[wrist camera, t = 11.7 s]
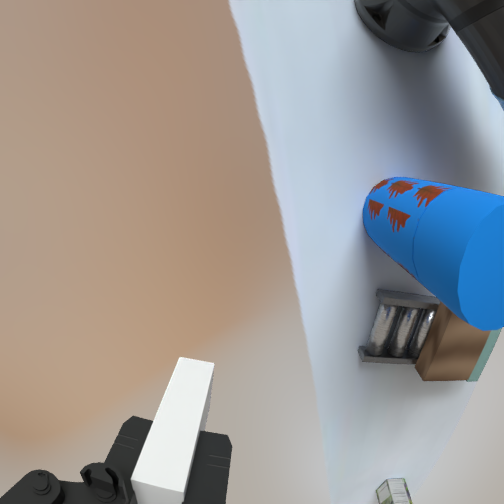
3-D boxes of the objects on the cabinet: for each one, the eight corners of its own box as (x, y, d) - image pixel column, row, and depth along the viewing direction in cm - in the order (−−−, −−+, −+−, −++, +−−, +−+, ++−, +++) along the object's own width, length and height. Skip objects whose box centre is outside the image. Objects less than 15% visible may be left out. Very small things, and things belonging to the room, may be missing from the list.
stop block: (476, 296, 46) (497, 313, 39) (485, 298, 46) (507, 314, 39) (450, 360, 49) (467, 381, 43) (460, 360, 49) (477, 381, 43)
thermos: (436, 232, 43) (549, 294, 19) (377, 262, 45) (465, 355, 21) (413, 164, 41) (537, 178, 17) (349, 194, 42) (441, 235, 18)
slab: (440, 301, 43) (452, 312, 39) (484, 306, 43) (496, 317, 39) (414, 367, 46) (423, 381, 42) (458, 367, 46) (468, 380, 42)
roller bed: (377, 289, 46) (384, 297, 43) (474, 301, 46) (483, 309, 43) (357, 351, 49) (362, 361, 46) (452, 356, 49) (459, 364, 46)
